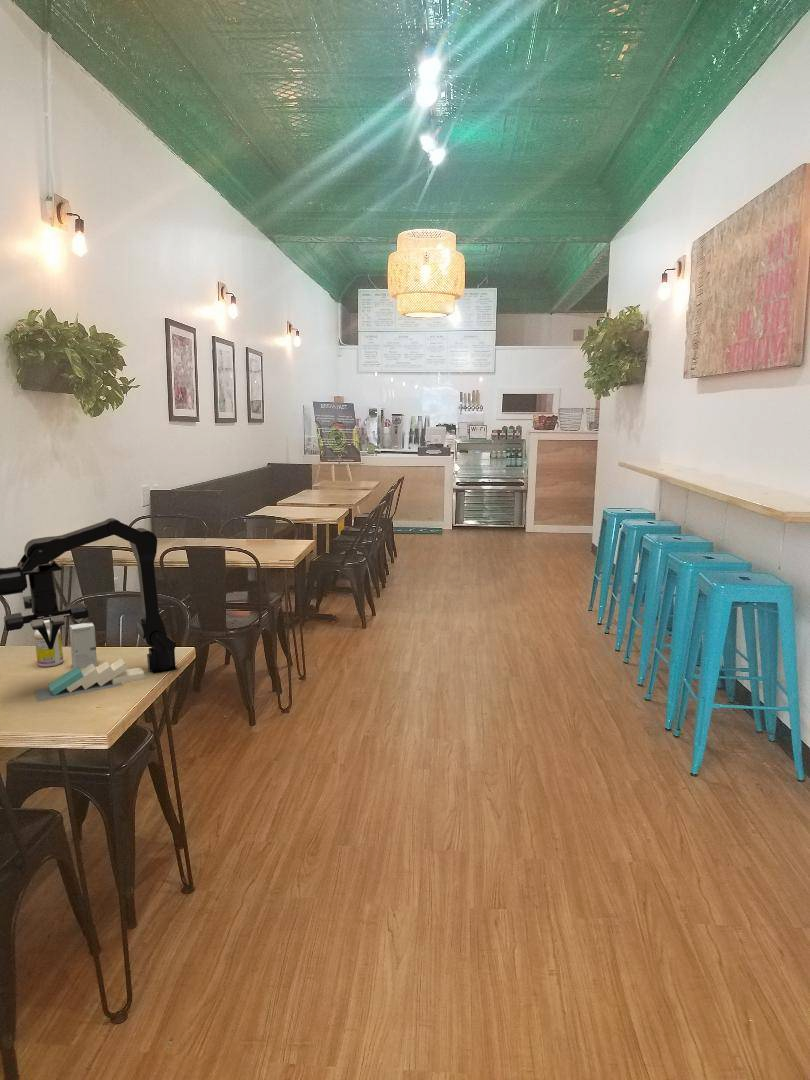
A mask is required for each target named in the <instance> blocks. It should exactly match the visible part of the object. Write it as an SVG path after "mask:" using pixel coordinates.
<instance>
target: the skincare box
mask: <svg viewBox="0 0 810 1080" xmlns="http://www.w3.org/2000/svg"><path fill="white" fill-rule="evenodd" d="M69 637H70V638H69V639H70V648H71V649H70V650H71V651H70V653H71V666H72V669H74V668H75V667H77V666H78V667H79V669H80V670H83V669H84V668H86V667H87V666H89V665H91V664H93V665H94V666H95V667H98V662H97V660H98V658H97V643H96V627H95V624H94V623H93V622H92V621H91V622H86V623H85V622H82V623H78V624H77V623H76V624H70V625H69Z"/></svg>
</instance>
